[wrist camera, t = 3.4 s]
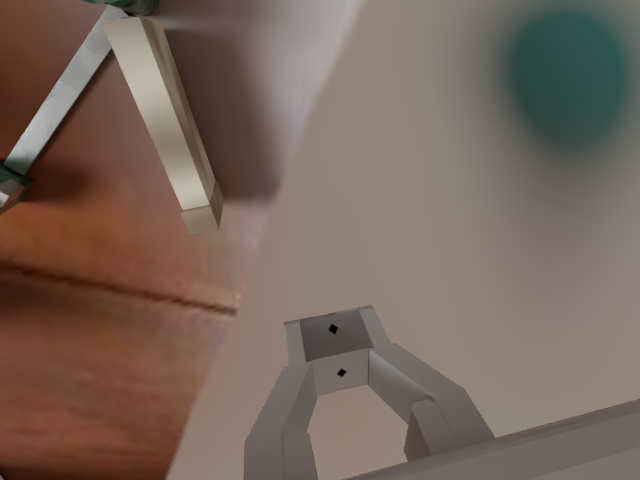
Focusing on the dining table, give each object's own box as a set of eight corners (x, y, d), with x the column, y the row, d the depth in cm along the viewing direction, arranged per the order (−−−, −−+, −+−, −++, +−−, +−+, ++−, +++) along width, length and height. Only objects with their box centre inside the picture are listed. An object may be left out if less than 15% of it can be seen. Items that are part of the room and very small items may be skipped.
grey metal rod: (26, 173, 22) (23, 175, 21) (7, 162, 21) (3, 163, 21) (133, 19, 19) (131, 18, 18) (114, 1, 18) (111, 0, 18)
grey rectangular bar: (129, 25, 18) (92, 15, 14) (163, 20, 18) (136, 10, 14) (200, 204, 25) (190, 235, 21) (224, 199, 25) (218, 229, 21)
